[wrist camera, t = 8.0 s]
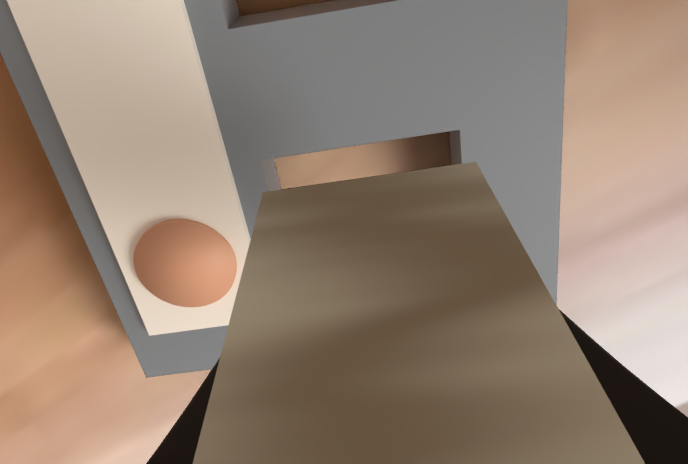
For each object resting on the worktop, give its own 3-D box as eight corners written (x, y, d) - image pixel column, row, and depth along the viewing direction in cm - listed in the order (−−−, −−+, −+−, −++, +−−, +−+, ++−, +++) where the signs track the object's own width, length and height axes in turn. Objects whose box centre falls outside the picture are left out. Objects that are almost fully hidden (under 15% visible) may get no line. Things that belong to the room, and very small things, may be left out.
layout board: (547, -424, 11) (596, -503, 9) (537, 289, 20) (561, 334, 18) (-96, -284, 12) (-188, -326, 10) (161, 339, 21) (142, 388, 19)
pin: (475, 161, 10) (761, 671, 3) (481, 329, 12) (671, 869, 5) (262, 192, 11) (125, 724, 4) (302, 351, 13) (260, 896, 6)
